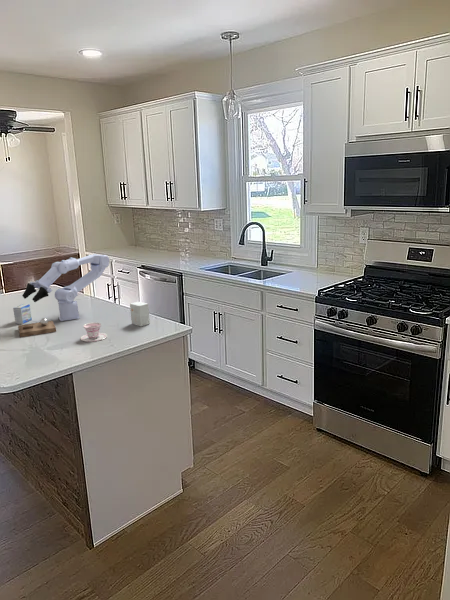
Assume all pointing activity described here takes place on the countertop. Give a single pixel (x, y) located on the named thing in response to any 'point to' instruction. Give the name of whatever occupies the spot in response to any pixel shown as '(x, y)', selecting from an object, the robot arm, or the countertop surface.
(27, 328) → the hole plate
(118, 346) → the countertop surface
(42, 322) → the steel ball
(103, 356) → the countertop surface
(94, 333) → the teacup
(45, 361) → the countertop surface
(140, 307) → the small box
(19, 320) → the medicine box
